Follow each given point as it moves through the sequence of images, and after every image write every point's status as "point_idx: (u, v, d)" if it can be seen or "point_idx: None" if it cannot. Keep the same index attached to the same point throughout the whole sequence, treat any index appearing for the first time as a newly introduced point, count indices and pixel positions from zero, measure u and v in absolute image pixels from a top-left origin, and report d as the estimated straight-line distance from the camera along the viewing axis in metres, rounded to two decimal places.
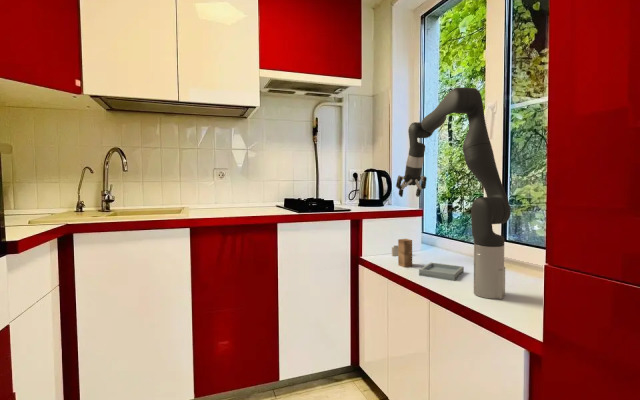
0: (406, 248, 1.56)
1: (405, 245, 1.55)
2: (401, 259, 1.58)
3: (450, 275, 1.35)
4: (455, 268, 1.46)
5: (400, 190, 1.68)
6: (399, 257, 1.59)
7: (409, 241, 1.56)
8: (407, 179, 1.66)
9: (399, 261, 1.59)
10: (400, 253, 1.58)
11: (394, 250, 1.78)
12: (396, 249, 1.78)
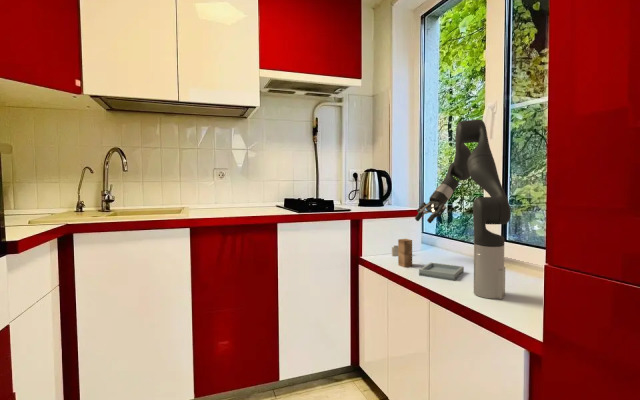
0: (406, 248, 1.56)
1: (405, 245, 1.55)
2: (401, 259, 1.58)
3: (450, 275, 1.35)
4: (455, 268, 1.46)
5: (418, 213, 1.68)
6: (399, 257, 1.59)
7: (409, 241, 1.56)
8: None
9: (399, 261, 1.59)
10: (400, 253, 1.58)
11: (394, 250, 1.78)
12: (396, 249, 1.78)
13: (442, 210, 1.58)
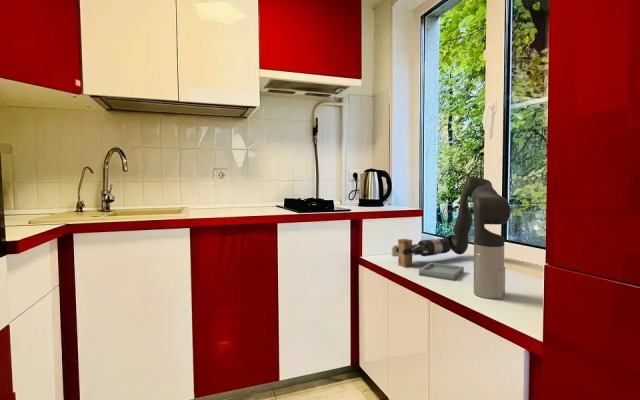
0: (406, 248, 1.56)
1: (405, 245, 1.55)
2: (401, 259, 1.58)
3: (450, 275, 1.35)
4: (455, 268, 1.46)
5: None
6: (399, 257, 1.59)
7: (409, 241, 1.56)
8: None
9: (399, 261, 1.59)
10: (400, 253, 1.58)
11: (394, 250, 1.78)
12: None
13: (422, 252, 1.55)
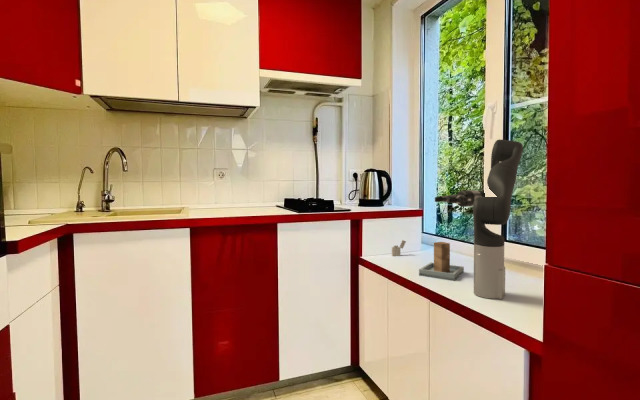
0: (443, 252, 1.41)
1: (442, 249, 1.41)
2: (437, 264, 1.43)
3: (450, 275, 1.35)
4: (455, 268, 1.46)
5: None
6: (435, 262, 1.44)
7: (447, 244, 1.42)
8: None
9: (435, 266, 1.44)
10: (436, 258, 1.43)
11: (394, 250, 1.78)
12: (396, 249, 1.78)
13: (467, 200, 1.52)
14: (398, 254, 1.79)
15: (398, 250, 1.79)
